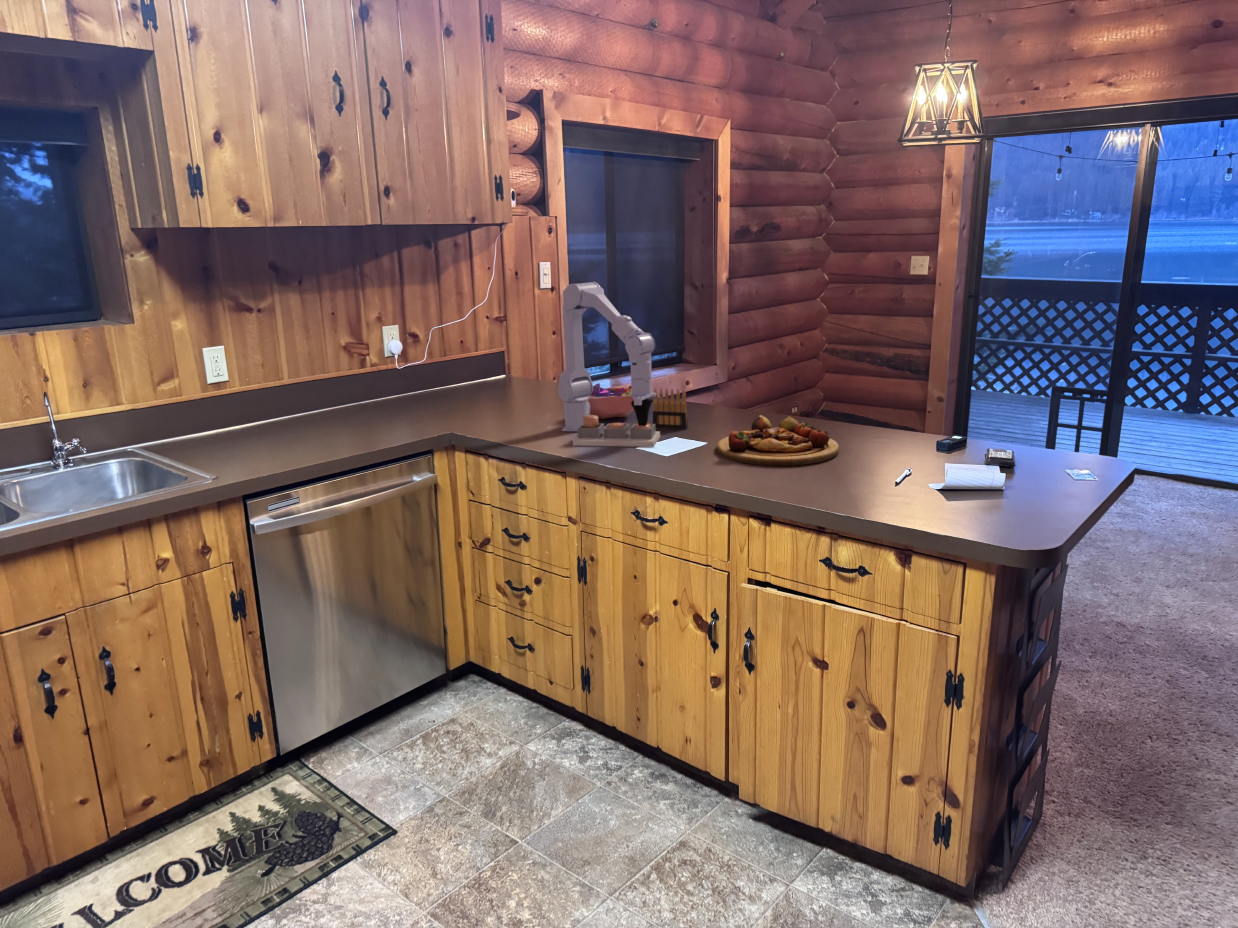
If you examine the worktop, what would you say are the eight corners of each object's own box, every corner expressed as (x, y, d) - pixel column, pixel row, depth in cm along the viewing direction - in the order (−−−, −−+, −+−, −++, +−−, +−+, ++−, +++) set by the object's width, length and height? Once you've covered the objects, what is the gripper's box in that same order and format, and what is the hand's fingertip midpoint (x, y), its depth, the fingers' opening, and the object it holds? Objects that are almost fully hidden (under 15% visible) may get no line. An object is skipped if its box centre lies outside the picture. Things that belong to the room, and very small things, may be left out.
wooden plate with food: (739, 473, 211) (739, 440, 209) (702, 443, 241) (702, 414, 239) (860, 462, 217) (861, 430, 214) (809, 434, 247) (810, 406, 245)
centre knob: (610, 433, 247) (610, 422, 246) (625, 433, 246) (625, 422, 245) (607, 437, 243) (607, 426, 242) (623, 437, 242) (622, 426, 241)
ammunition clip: (652, 427, 259) (651, 388, 256) (654, 426, 261) (653, 387, 258) (686, 429, 256) (686, 389, 253) (688, 428, 257) (687, 388, 254)
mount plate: (582, 435, 253) (582, 421, 252) (660, 436, 248) (659, 421, 247) (572, 445, 241) (572, 430, 240) (653, 446, 237) (653, 431, 236)
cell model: (641, 423, 266) (640, 387, 263) (577, 424, 267) (575, 388, 264) (641, 411, 283) (640, 377, 280) (580, 413, 283) (579, 379, 280)
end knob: (585, 425, 248) (584, 414, 247) (600, 425, 247) (599, 415, 246) (581, 429, 244) (581, 418, 243) (596, 429, 243) (596, 418, 242)
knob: (636, 434, 246) (636, 423, 245) (651, 434, 245) (651, 423, 244) (634, 437, 241) (633, 426, 240) (649, 438, 241) (649, 427, 240)
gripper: (651, 382, 231) (652, 431, 235) (659, 373, 245) (660, 419, 248) (625, 382, 232) (627, 431, 236) (634, 373, 246) (636, 419, 250)
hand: (642, 425), depth 242 cm, fingers closed, pressing on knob
